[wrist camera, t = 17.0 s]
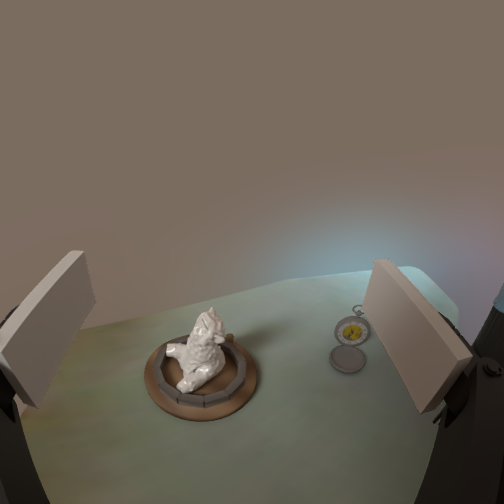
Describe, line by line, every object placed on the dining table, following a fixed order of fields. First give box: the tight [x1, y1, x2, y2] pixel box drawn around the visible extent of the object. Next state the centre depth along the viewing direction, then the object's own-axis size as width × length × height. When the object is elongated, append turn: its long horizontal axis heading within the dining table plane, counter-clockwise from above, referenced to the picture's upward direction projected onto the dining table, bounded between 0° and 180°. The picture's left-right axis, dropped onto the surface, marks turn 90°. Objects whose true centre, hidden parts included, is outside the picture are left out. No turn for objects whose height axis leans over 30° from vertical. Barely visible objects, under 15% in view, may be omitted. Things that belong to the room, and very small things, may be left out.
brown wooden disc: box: [144, 334, 257, 422], centre depth 41 cm, size 18×18×3 cm
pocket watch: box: [330, 305, 371, 373], centre depth 45 cm, size 8×8×10 cm
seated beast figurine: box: [166, 307, 226, 394], centre depth 38 cm, size 10×9×12 cm
